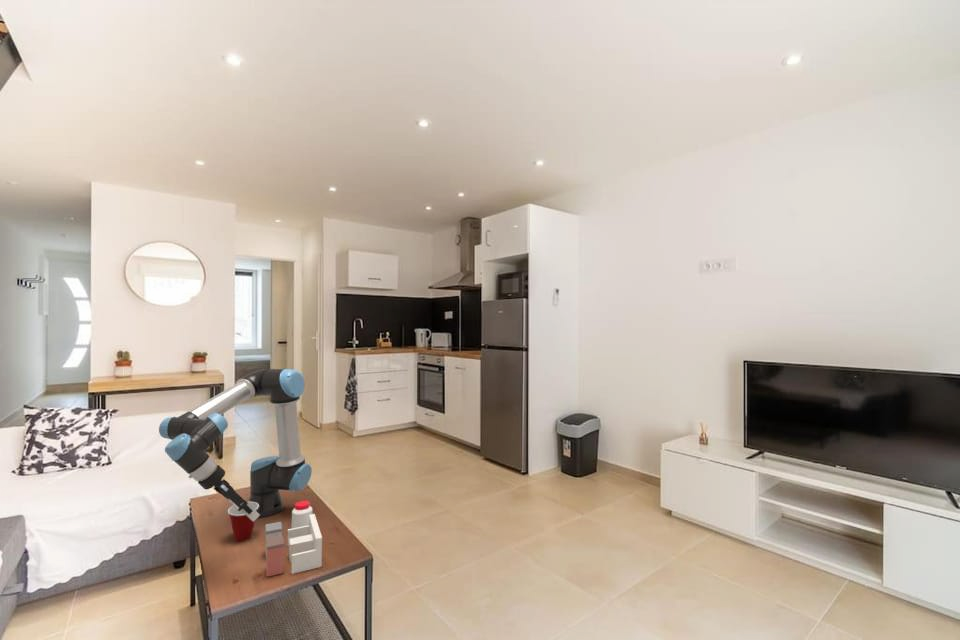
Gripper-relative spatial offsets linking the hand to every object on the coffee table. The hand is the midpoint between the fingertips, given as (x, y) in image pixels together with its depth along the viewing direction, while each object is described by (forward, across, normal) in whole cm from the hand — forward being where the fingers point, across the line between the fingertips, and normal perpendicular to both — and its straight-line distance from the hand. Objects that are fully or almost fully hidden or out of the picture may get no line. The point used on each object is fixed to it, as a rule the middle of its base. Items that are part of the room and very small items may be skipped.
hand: (250, 513), depth 151 cm
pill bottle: (+27, -11, +8) cm, 30 cm away
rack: (+23, +8, +2) cm, 25 cm away
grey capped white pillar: (+18, -1, -4) cm, 19 cm away
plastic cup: (+14, -21, -7) cm, 27 cm away
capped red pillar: (+17, +11, -7) cm, 21 cm away
